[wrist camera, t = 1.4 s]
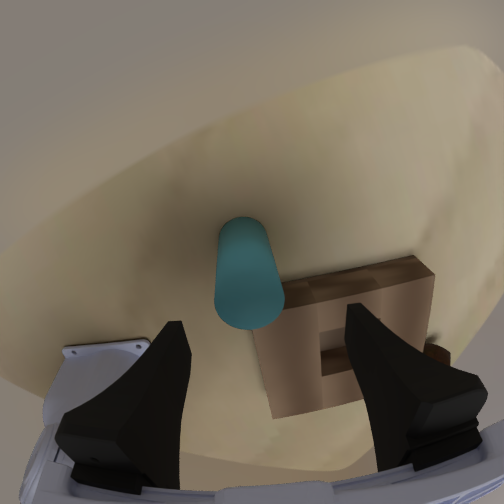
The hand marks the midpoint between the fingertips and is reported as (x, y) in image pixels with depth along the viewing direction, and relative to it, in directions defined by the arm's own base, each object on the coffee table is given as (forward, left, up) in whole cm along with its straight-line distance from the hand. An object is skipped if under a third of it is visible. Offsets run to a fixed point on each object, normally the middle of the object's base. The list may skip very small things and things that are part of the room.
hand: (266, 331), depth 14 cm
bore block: (+6, -10, -10) cm, 15 cm away
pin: (0, 0, -10) cm, 10 cm away
